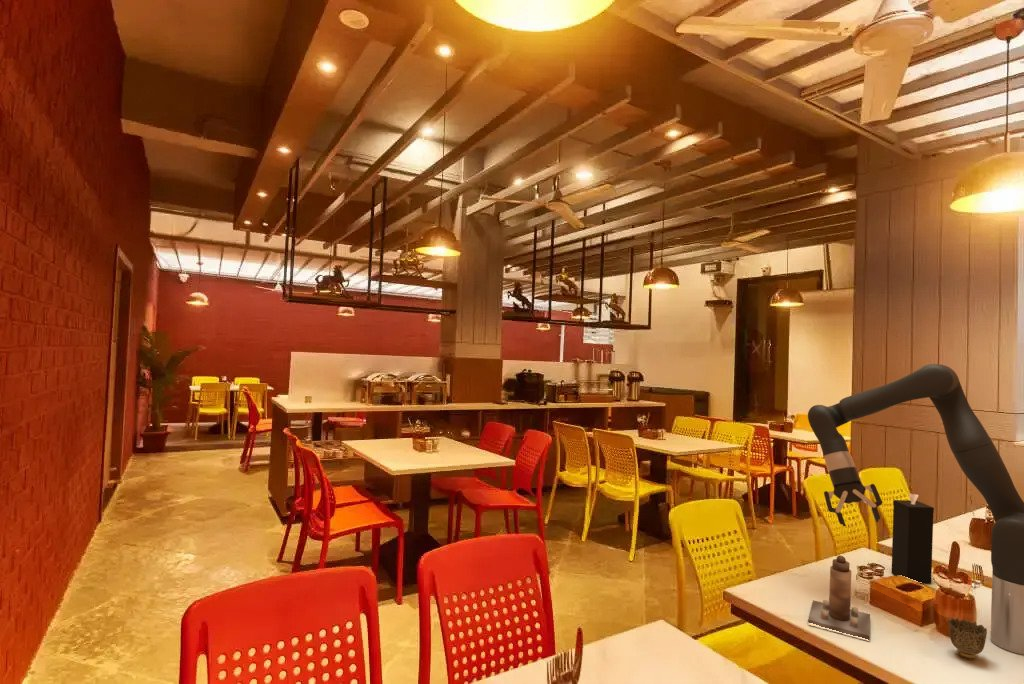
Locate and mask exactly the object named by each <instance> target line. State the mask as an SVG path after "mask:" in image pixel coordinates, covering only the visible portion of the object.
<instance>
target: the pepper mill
mask: <svg viewBox="0 0 1024 684" xmlns="http://www.w3.org/2000/svg"><path fill="white" fill-rule="evenodd" d="M850 564H851V563H850V562H848V561H847V560H846V558H845V556H843V555H837V557H836V559H835V558H834V559H832V565H831V566H830V567H829V598H828V599H829V600H828V601H829V616H830V617H832V618H834V619H836V620H839V621H849V620H850V609H851V599H852V597H851V596H852V570H851V568H850Z"/></svg>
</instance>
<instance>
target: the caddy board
mask: <svg viewBox="0 0 1024 684" xmlns="http://www.w3.org/2000/svg"><path fill="white" fill-rule="evenodd" d="M808 622H809V623H813V624H816V625H819V626H821V627H825V628H829V629H832V630H836V631H839V632H842V633H846V634H850V635H853V636H858V637H862V638H865V639H868V640H870V637H871V633H870V632H871V614H870V613H867V612H864V611H859V608H857V607H856V606H850V620H849V621H839V620H836V619H834V618H832V617H830V616H829V600H827V599H823V600H822V601H818V600H812V603H811V607H810V611H809V616H808V619H807V623H808Z"/></svg>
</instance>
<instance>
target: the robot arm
mask: <svg viewBox="0 0 1024 684" xmlns="http://www.w3.org/2000/svg"><path fill="white" fill-rule="evenodd" d="M926 398H929V399H930V401H931V402H932V404H933V405H934V407H935V409H936V410H937V412H938V414H939V416H940V418H941V422H942V425H943V429H944V433H945V437H946V441H947V443H948V445H949V447H950V451H951V453H952V455H953V456H954V458H955V460H956V461H957V464H958V466H959V468H960V469H961V471H962V472H963V474H964V475H965V476H966V478H967V479H968V480H969V481H970V482H971V484H973V486H974V487H975V488H976V489H977V491H979V493H980V494H981V495H982V497H983V498H984V500H985V502H986V504H987V506H988V508H989V510H990V512H991V514H992V517H993V520H994V524H993V526H992V527H991V536H990V537H991V538H990V539H991V540H990V544H991V545H990V562H991V563H990V564H991V566H992V573H991V574H992V575H991V576H992V577H991V604H990V606H991V607H990V630H989V634H990V641H991V643H993V644H994V645H996V646H997V647H1000V648H1002V649H1003V650H1006V651H1009V652H1012V653H1015V654H1018V655H1023V656H1024V500H1023V499H1022V497H1021V495H1020V494H1019V492H1018V490H1017V488H1016V487H1015V484H1014V482H1013V479H1012V477H1011V476H1010V473H1009V470H1008V469H1007V466H1006V464H1005V462H1004V461H1003V458H1002V456H1001V455H1000V453H999V451H998V449H997V447H996V445H995V444H994V441H993V440H992V438H991V436H990V435H989V434H988V432H987V431H986V428H985V427H984V426H983V424H982V423H981V421H980V419H979V418H978V416H977V415H976V414H975V412H974V410H973V409H972V408H971V405H970V404H969V401H968V398H967V397H966V394H965V392H964V389H963V386H962V385H961V381H960V379H959V377H958V374H957V373H956V371H954V370H953V369H952V368H951V367H950V366H947V365H944V364H938V363H931V364H926V365H923V366H922V367H921V368H920V367H919V368H918V369H917V370H915V371H913V372H912V373H909V374H908V375H906V376H904V377H901V378H899V379H897V380H895V381H893V382H890V383H887V384H885V385H881V386H878V387H873V388H870V389H867V390H863V391H861V392H860V391H859V392H857V393H854V394H851V395H850V396H846V397H844V398H842V399H840V400H839V402H838V403H835V404H833V405H829V406H826V405H823V404H816V405H812V407H810V408H809V410H808V412H807V420H808V424H809V425H810V428H811V430H812V432H813V433H814V436H815V437H816V439H817V441H818V442H819V445H820V448H821V451H822V455H823V458H824V462H825V466H826V470H827V471H828V475H829V477H830V481H831V483H832V488H833V491H832V490H831V491H827V490H825V491H824V492H823V495H824V499H825V503H826V508H827V511H828V512H829V513H834V514H835V515H836V517H837V519H838V523H839V524H840V525H842V527H846V522H845V519H844V515H843V513H842V512H841V511H842V508H843V506H844V504H848V505H850V504H852V503H861V502H863V503H865V504H866V505H868V506H869V507H870V508H871V509H870V510H871V513H872V516H873V518H874V521H875V523H878V522H880V521H879V520H881V516H880V512H879V511H878V507H880V506H881V505H882V504H883V501H882V497H881V496H880V494H879V491H878V489H877V486H876V485H875V484H874V483H871V484H869V485H863V483H862V480H861V478H860V475H859V473H858V469H857V467H856V463H855V462H854V459H853V457H852V455H851V453H850V451H849V447H848V446H847V442H846V440H845V438H844V436H843V435H842V434H841V433H840V432H839V431H838V429H837V428H838V427H841V426H843V425H846V424H847V423H849V422H851V421H854V420H857V419H861V418H864V417H866V416H870V415H873V414H874V415H875V414H877V413H880V412H881V411H884V410H887V409H889V408H892V407H893V406H896V405H900V404H902V403H906V402H910V401H913V400H919V399H926ZM866 490H867V491H868V492H869V493H870V494H871V493H872V495H873V496H874V499H875V502H873V501H872V500H871V499H869V498H868V497H866V496H865V493H866ZM833 496H835V497H836V498H838V499H839V501H838V503H837V505H836V507H835V508H834V507H833V506H832V502H831V499H833Z"/></svg>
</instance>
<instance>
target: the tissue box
mask: <svg viewBox="0 0 1024 684" xmlns="http://www.w3.org/2000/svg"><path fill="white" fill-rule="evenodd" d="M908 496H909V499H910V500H908V499H907V500H906V499H903V500H902V499H900V500H899V499H893V501H892V505H893V510H892V511H893V512H892V514H893V515H892V544H891V546H892V547H891V575H893V576H895V575H902V576H905V577H908V578H910V579H913V580H916V581H918V582H922V583H925V584H926V585H927V584H928V585H932V569H933V568H932V566H933V542H934V541H933V538H934V537H933V536H934V533H933V532H934V513H935V512H934V511H935V507H933V506H930V505H928V504H926V503H924V502H921V501H918V498H919V496H920V495H919V494H917V493H916V494H915V493H910V492H909V493H908ZM925 584H924V585H925Z"/></svg>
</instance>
